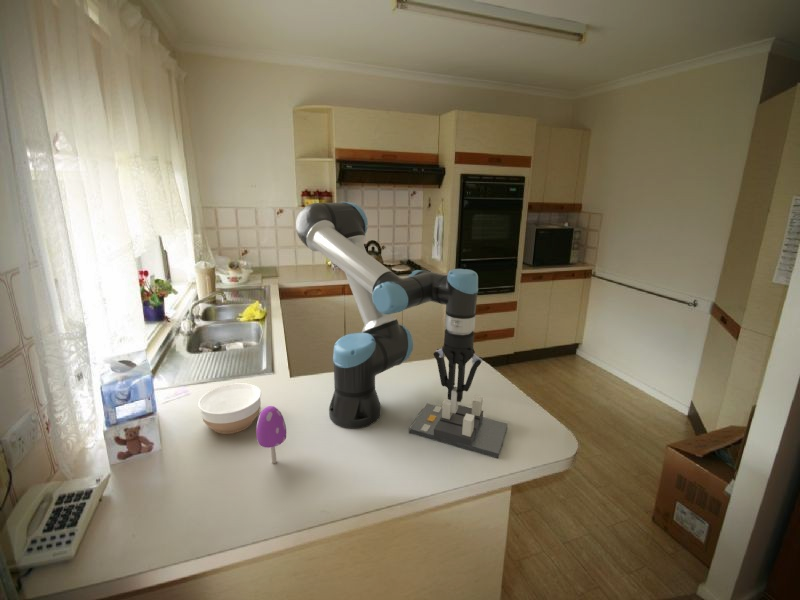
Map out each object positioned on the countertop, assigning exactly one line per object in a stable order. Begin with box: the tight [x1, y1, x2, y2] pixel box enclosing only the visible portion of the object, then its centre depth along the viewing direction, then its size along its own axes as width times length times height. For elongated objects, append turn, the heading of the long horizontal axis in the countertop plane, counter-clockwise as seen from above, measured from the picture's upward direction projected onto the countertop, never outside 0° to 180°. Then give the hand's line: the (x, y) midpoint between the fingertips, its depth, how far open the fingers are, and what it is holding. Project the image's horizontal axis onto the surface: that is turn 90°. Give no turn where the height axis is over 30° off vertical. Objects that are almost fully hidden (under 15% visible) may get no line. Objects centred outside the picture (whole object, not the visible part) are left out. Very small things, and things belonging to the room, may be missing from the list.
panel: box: [408, 403, 509, 459], centre depth 107 cm, size 24×14×2 cm, turn 66°
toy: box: [255, 405, 287, 464], centre depth 92 cm, size 7×7×15 cm
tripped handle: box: [441, 397, 453, 420], centre depth 107 cm, size 2×3×4 cm
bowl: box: [197, 382, 262, 435], centre depth 108 cm, size 16×16×8 cm
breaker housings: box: [434, 394, 484, 446], centre depth 106 cm, size 10×14×7 cm
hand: (454, 410), depth 106 cm, fingers closed
